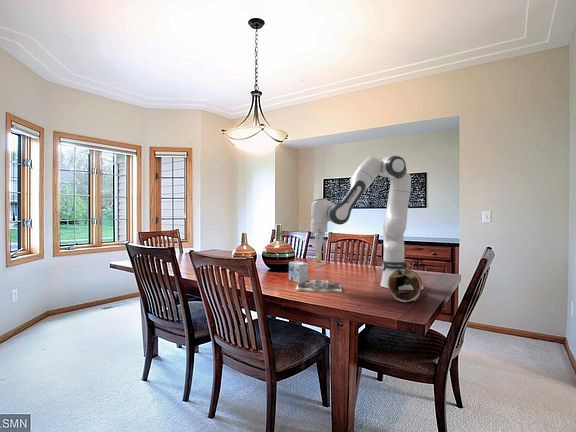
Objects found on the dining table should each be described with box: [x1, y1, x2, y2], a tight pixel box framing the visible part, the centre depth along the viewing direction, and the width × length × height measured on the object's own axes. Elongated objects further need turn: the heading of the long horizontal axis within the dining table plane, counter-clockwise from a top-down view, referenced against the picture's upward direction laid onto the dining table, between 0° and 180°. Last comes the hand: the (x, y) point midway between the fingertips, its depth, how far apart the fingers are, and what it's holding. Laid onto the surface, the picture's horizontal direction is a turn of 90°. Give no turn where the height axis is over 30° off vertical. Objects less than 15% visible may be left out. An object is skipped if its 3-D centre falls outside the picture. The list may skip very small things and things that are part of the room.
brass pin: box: [315, 248, 323, 264], centre depth 182 cm, size 3×3×10 cm
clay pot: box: [387, 268, 423, 303], centre depth 168 cm, size 15×15×25 cm
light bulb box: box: [288, 260, 309, 283], centre depth 204 cm, size 11×7×11 cm, turn 37°
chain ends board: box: [294, 279, 343, 294], centre depth 182 cm, size 24×12×4 cm, turn 83°
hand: (318, 254), depth 182 cm, fingers closed on brass pin, 3 cm apart
